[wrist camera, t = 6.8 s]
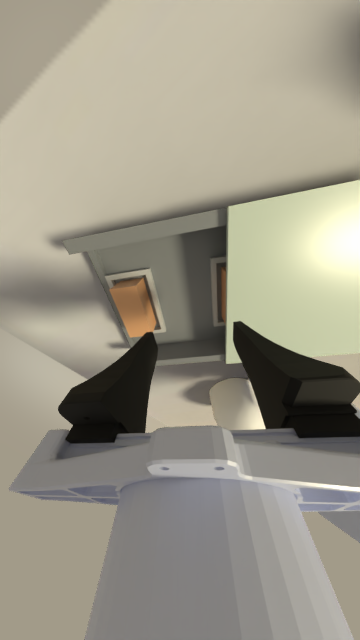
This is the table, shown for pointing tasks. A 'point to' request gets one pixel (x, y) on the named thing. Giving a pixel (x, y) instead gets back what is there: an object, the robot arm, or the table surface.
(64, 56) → the table surface
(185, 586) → the robot arm
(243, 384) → the teardrop
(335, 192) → the lid
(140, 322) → the block
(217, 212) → the housing
